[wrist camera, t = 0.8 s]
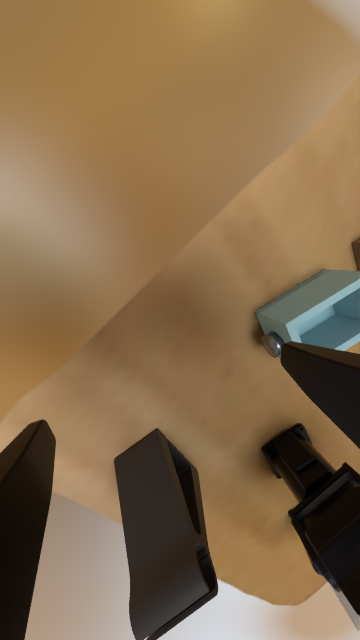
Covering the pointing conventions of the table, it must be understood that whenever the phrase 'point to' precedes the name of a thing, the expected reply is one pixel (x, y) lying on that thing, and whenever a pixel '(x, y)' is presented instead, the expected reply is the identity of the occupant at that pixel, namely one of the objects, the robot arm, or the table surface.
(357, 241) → the walnut stand
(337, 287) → the box
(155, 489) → the phone stand
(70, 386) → the table surface
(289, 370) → the robot arm
